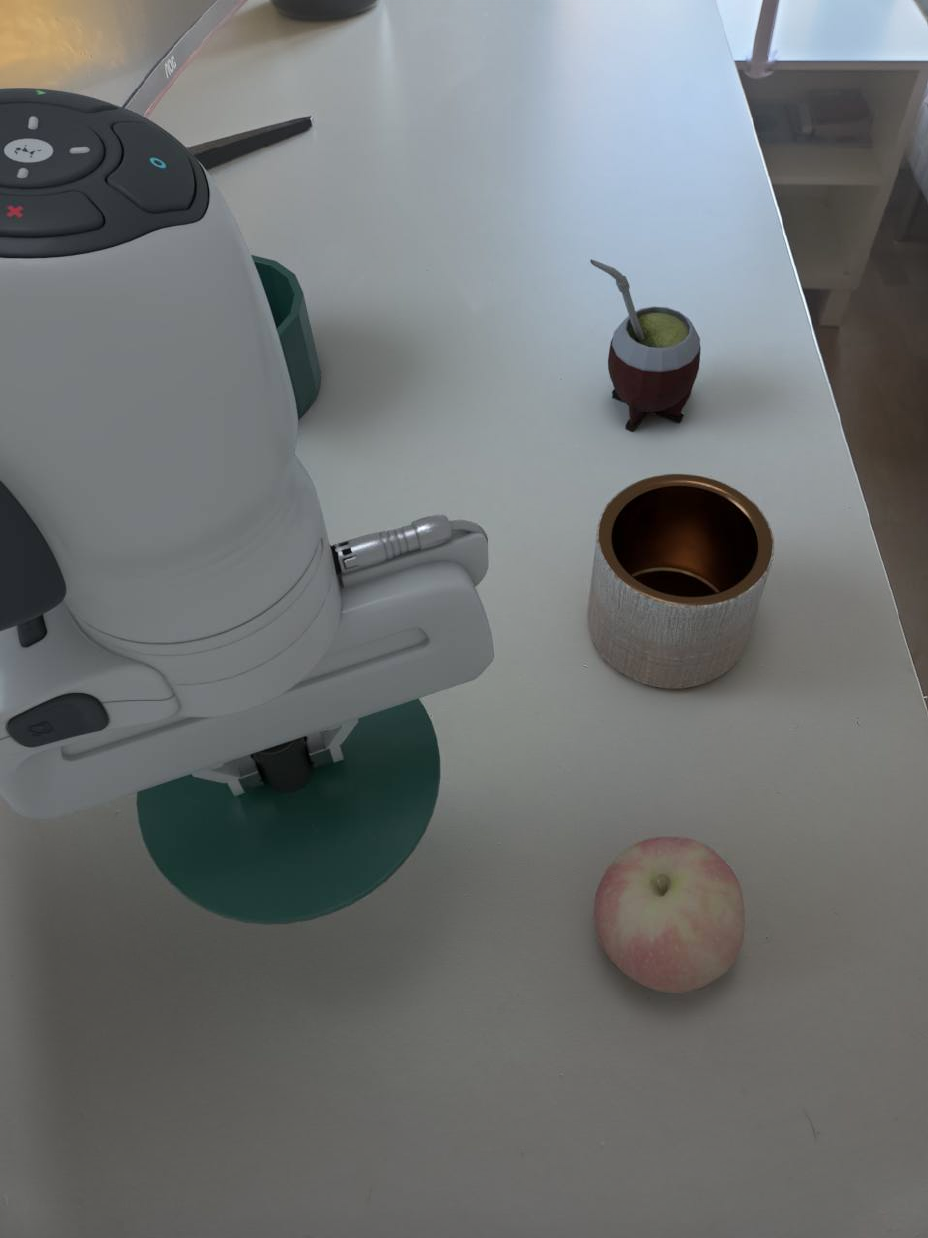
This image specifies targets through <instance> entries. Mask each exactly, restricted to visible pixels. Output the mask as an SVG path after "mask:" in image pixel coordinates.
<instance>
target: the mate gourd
mask: <svg viewBox="0 0 928 1238" xmlns="http://www.w3.org/2000/svg"><path fill="white" fill-rule="evenodd" d="M589 261H590V264H591V265H592V266H594V267H595V268H597V269H599V270H601V271H603V272H605V273H606V274H607V275H609V276H610V277H612V278H613V279H614V280H615V285H616V287H617V289H618V291H619V292H620V293H621V295H622V298H623V301H624V302H623V303H624V305H625V308H626V311H627V314H628V315H627V317H625V319H624V320H622V322H621V323H620V324H619V325H618V327H617V328H616V329H615V330H614V331H613V335H612V338H611V340H610V344H609V349H608V357H607V369H608V374H609V378H610V380H611V383H612V385H613V387H614V388H613V389H612V391H611V398H612V399H614V400H617V401H619V402H621V403H624V404H626V406H627V407H628V412H629V414H628V415H629V419H628V420H627V422H626V424H625V429H626V430H627V431H629V432H635V431H636V430H637V429H638V427H639V426H640V425H641V424H642V422H643V421H644V420H645V418H646V417H647V416H648V415H649V414H652V415H655V416H658V417H660V418H662V419H666V420H667V421H671V422H673V423H676V424H680V423H681V422H682V421H683V419H684V417H685V414H684V413H683V412H682V411H683V409H684V407H685V406H686V404H687V403H688V401H689V399H690V398H691V394H692V391H693V387H694V385H695V382H696V379H697V377H698V373H699V370H700V362H701V350H702V349H701V338H700V336H699V334H698V332H697V329H696V328H695V326H694V324H693V322H692V321H691V320H690V318H688V317H687V316H686V315H684V314H683V313H682V312H680V310H679V311H678V310H675V309H673V308H670V307H668V306H667V307H664V306H647V307H644V308H643V307H642V308H639V309H637V310H636V309H635V305H634V302H633V298H632V296H631V295H632V294H631V292H630V288H631V287H630V283H629V280H628V279H627V277H626V276H625V275H624V274H623V273H621V272H620V271H619V270H617V268H615V267H613V266H610V265H607V264H605V263H602V262H600V261H597V260H595V259H590V260H589Z"/></svg>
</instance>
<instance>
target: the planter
mask: <svg viewBox="0 0 928 1238" xmlns="http://www.w3.org/2000/svg"><path fill="white" fill-rule="evenodd" d="M593 555H594V556H593V562H592V571H591V579H590V587H589V594H588V604H587V623H588V630H589V634H590V637H591V639H592V642H593V644H594V646H595V648H596V650H597V651H598V653H599V654H600V655H601V656H602V658H603V659H604V660H605V661H606V663H608V664H609V665H610V666H611V667H612V668H614V669H615V670H616V671H618V672H619V673H620V674H622V675H624V676H625V677H627V678H628V679H631V680H633V681H635V682H638V683H641V684H643V685H647V686H651V687H655V688H661V689H675V690H676V689H687V688H693V687H694V688H695V687H697V686H701V685H704V684H707V683H709V682H711V681H712V682H713V680H716V679H718V678H720V677H721V676H722V675H724V674H725V673H727V672H728V671H729V670H730V669H731V668H732V667H733V666H734V665H735V663H737V661H738V660H739V658H740V657H741V655H742V654H743V652H744V650H745V648H746V646H747V644H748V640H749V637H750V634H751V631H752V628H753V626H754V625H753V624H754V623H755V622H754V621H755V618H756V614H757V611H758V608H759V604H760V602H761V598H762V595H763V592H764V589H765V585H766V582H767V579H768V576H769V574H770V570H771V567H772V564H773V562H774V561H773V560H774V556H775V538H774V533H773V530H772V528H771V525H770V523H769V521H768V519H767V517H766V515H765V514H764V513H763V511H762V510H761V508H759V506H758V505H757V504H756V503H755V502H754V501H753V500H751V498H749V497H748V496H747V495H746V494H744V493H743V492H741V491H740V490H738V489H737V488H735V487H732V486H731V485H729V484H727V483H725V482H722V481H720V480H717V479H714V478H711V477H707V476H704V475H697V474H689V473H667V474H658V475H654V476H650V477H646V478H642V479H640V480H638V481H635V482H633V483H631V484H629V485H627V486H626V487H624V488H623V489H621V490H620V491H619V492H617V493H616V494H615V495H613V497H612V498H611V499H610V500H609V501H608V503H606V505H605V507H604V508H603V510H602V512H601V514H600V516H599V519H598V523H597V526H596V535H595V543H594V552H593Z"/></svg>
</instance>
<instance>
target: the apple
mask: <svg viewBox="0 0 928 1238" xmlns="http://www.w3.org/2000/svg"><path fill="white" fill-rule="evenodd" d="M593 920H594V928H595V932H596V935H597V938H598V941H599V943H600V945H601V946H602V949H603V950H604V951H605V953H606V955H607V956H608V957H609V959H610V960H611V961H612V963H613V964H614V965H615V966H616V967H617V968H618V969H619V970H620V971H621V972H623V973H624V974H626V976H628V977H629V978H631V979H632V980H634V981H635V982H636V983H639V984H640V985H642V986H645V987H647V988H649V989H651V990H655V991H657V992H663V993H669V994H683V993H690V992H693V991H696V990H699V989H701V988H703V987H705V986H708V985H709V984H710V983H712V982H713V981H715V980H717V979H719V978H720V977H721V976H723V975H724V974H725V973H727V972H728V971H729V970H730V969H731V968H732V966H733V965H734V964H735V962H736V960H737V958H738V956H739V954H740V951H741V948H742V944H743V941H744V937H745V931H746V910H745V903H744V897H743V891H742V888H741V884H740V882H739V879H738V877H737V876H736V874H735V872H734V871H733V869H732V868H731V866H730V865H729V864H728V863H727V862H726V860H725V859H724V858H723V857H721V856H720V855H719V853H717V852H716V851H715V850H713V849H712V848H711V847H710V846H708V845H706V844H704V843H702V842H701V841H697V840H695V839H691V838H688V837H685V836H684V837H683V836H658V837H652V838H647V839H644V840H641V841H639V842H637V843H635V844H633V845H631V846H630V847H628V848H626V849H624V851H622V852H620V853H619V855H617V856H616V857H615V858H614V859H613V860H612V861H611V863H610V864H609V865H608V867H607V868H606V870H605V871H604V873H603V874H602V877H601V879H600V881H599V882H598V886H597V889H596V893H595V896H594V904H593Z"/></svg>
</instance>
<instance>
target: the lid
mask: <svg viewBox="0 0 928 1238" xmlns="http://www.w3.org/2000/svg"><path fill="white" fill-rule="evenodd" d="M431 719H432V718H431V717H430V715H429V713H428V711H427V708H426V707H425V705H424V704H423V702H422V701H421V700H420V698H418V699H415V700H412V701H409V702H406V703H403V704H400V705H397V706H394V707H391V708H388V709H385V710H382V711H379V712H376V713H373V714H370V715H367V716H364V717H361V718H358V723H357V724H356V726H355V727H354V728H353V730H352V731H351V732H350V734H349V735H348V736H347V738H346V739H345V741H344V742H343V743H342V744H340V748H341V751H342V754H343V757H344V759H343V760H341V761H338V762H335V763H331V764H328V765H325V766H322V767H319V768H316V769H314V767H313V764H312V762H311V759H310V756H309V753H308V750H307V747H306V741H305V738H304V737H301V738H298V739H295V740H292V741H289V742H286V743H283V744H280V745H277V746H274V747H271V748H268V749H265V750H262V751H259V752H256V753H253V757H254V759H255V761H256V763H257V765H258V767H259V769H260V771H261V773H262V775H263V778H264V781H265V786H263V787H260V788H257V789H254V790H252V791H249V792H246V793H243V794H240V795H238V796H234V795H233V793H232V791H231V789H230V787H229V786H228V784H227V783H220V782H215V781H211V780H206V779H202V778H197V777H193V775H192V774H190V775H187V776H184V777H181V778H178V779H175V780H172V781H169V782H166V783H163V784H160V785H157V786H154V787H151V788H148V789H145V790H142V791H139V792H136V811H137V822H138V823H137V824H138V826H139V830H140V834H141V839H142V840H143V844H144V845H145V848H146V850H147V852H148V855H149V857H150V859H151V860H152V862H153V863H154V864H155V866H156V868H157V870H158V871H159V872H160V874H161V875H162V876H163V878H165V879H166V881H167V882H168V883H169V884H170V885H171V886H172V887H173V888H174V889H175V891H177V892H178V893H180V894H181V895H182V896H184V898H186V899H187V900H188V901H190V902H191V903H193V904H195V905H196V906H198V907H200V908H202V909H203V910H205V911H207V912H210V913H212V914H215V915H217V916H220V917H222V918H224V919H229V920H233V921H237V922H241V923H245V924H255V925H265V926H268V925H270V926H271V925H272V926H273V925H290V924H295V923H303V922H309V921H312V920H316V919H319V918H323V917H326V916H329V915H333V914H334V913H337V912H339V911H341V910H343V909H345V908H348V907H351V906H352V905H354V904H355V903H357V902H358V901H360V900H362V899H364V898H366V897H367V896H369V895H371V894H372V893H374V891H376V890H377V889H378V888H380V887H381V886H382V885H383V884H385V883H386V882H387V881H388V880H389V879H391V878H392V876H394V874H395V873H397V871H399V870H400V868H401V867H403V865H404V864H405V863H406V862H407V860H408V859H409V858H410V857H411V855H412V854H413V853H414V852H415V850H416V848H417V847H418V845H419V844H420V842H421V840H422V838H423V837H424V835H425V833H426V831H427V829H428V827H429V824H430V822H431V819H432V818H433V815H434V812H435V808H436V804H437V801H438V798H439V792H440V785H441V779H442V778H441V755H440V748H439V741H438V736H437V734H436V731H435V728H434V724H433V722H432V720H431ZM333 762H334V761H333Z"/></svg>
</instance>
